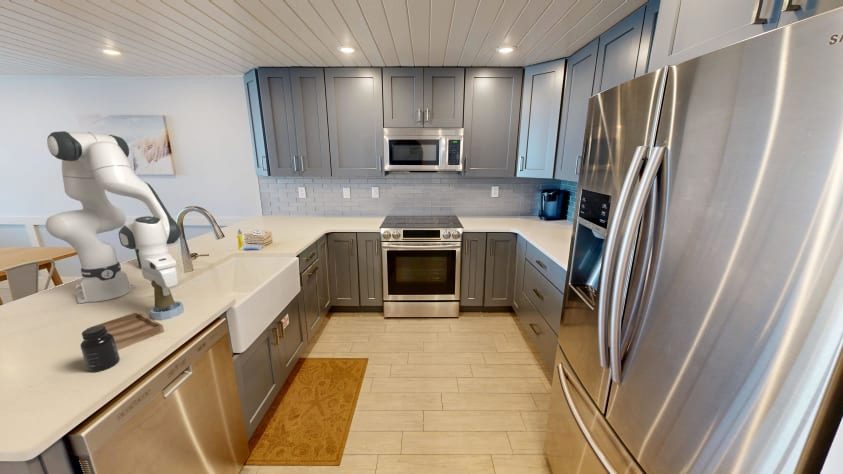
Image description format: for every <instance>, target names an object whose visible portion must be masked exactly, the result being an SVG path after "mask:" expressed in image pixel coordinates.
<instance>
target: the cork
mask: <svg viewBox="0 0 843 474" xmlns="http://www.w3.org/2000/svg"><path fill="white" fill-rule="evenodd" d="M150 282H151V281H150ZM150 284H151V286H152V287H153V292H154V296H153V297H154V307H155V308H164V307H168V306H171V305H173V304H174V301H175V300H174V297H173V295H172V292H171V289H169V295H167V296H164V295H162V287H161V286H160V285H158V284H156V282H155V281H154V280H152V282H151V283H150Z"/></svg>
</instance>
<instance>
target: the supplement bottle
mask: <svg viewBox="0 0 843 474" xmlns="http://www.w3.org/2000/svg"><path fill="white" fill-rule="evenodd" d="M94 326H95V325H94ZM91 327H92V326H91ZM88 328H89V327H88ZM81 337H82V339H83V340H82V342H81V343H80V345H79V347H80V350H81V353H82V356H83V359H84V362H85V366H86V368H87V371H88V372H92V373H98V372H99V373H100V372H103V371H106V370H108V369H111V368H112V367H114V366H116V365H117V364H118V363H119V362H120V360H121V358H120V354H119V350H117V347H116V343H115V340H114V337H113V335H112V334H110V333H107V330H106V327H105V326H95V327H92V328H89V329H87V328H86V329H85V330H83V331H82V332H81Z"/></svg>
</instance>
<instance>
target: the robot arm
mask: <svg viewBox="0 0 843 474" xmlns="http://www.w3.org/2000/svg"><path fill="white" fill-rule="evenodd" d="M46 145H47V149H48V150H49V153H50V154H51V155H52V156H53V157H55V158H56V159H58V160H60V161H61V173H62V174H61V175H62V180H63V181H62V182H63V187H64V193H65V195H66V196H67V197H69V198H70V199H73V200H76V201H77V202H78V201H79V202H80V203H81V205H82V209H81V208H80V209H76V210H75V209H74V210H67V211H62V212H59V213H56V214H53V215H50V216H49V217H48V218H47V219H46V220H45V228H46V229H45V230H46V231H47V233H49V234H50V236H52V237H54V238H56V239H59V240H61V241H65V243H67V244H69V245H70V246H71V247H72V248H73V249H74V251H75V252H76V254H77V256H78V259H79V263H80V266H81V268H80V274H81V276H82V277H81V279H80V283H78V284H76V285H75V289H76V291H75V297H76V301H77V303H78V304H83V303H84V304H85V303H93V302H94V303H97V302H102V301H108V300H112V299H115V298H119V297H122V296H124V295H127V294H128V293H129V292H131V291H132V290H135V288H136V286H135V285H133V284H131V283H130V280H129V277H128V274H127V272H125V271H123V270H122V267H121V264H120V262H119V261H118V258H117V257H118V256H117V254H116V250H115V247H114V246H113V245H112V244H111V243H109V242H105V241H101V240H100V239H99V237H98V234H102V233H107V232H112V231H115V230H116V229H119V228H120V230H119V231H118V238H119V242H120V245H121V246H122V247H124V248H127V249H129V250H135V249H139V259H140V263H141V268H142V269H141V268H140V269H141V275H142V277H143V279H145V280H146V281H147V280H148V281H149V282H152V280H154V281H155V282H156V284H158V285H160V286H161V287H162V295H164V296H167V295H169V290H170V289H172V288H175V287H177V286H178V283H179V281H178V272H177V268H176V267H177V265H178V263H177V261H176V259H175V258H173V257H172V254H171V252H170V248H169V247H168V245H171V244H175V243H177V241H178V240H179V238H180V237H181V234H182V230H181V228H180V226H179V224H178V223H177V222H176V221H175V220H174V218H173V217H172V216H171V214H170V212H169V211H168V210H167V208H166V206H165V205H164V203H163V202H162V200H161V198H160V197H159V195H158V194H157V192H156V190H155V189H154V188H153V187H152V186H151V185H150V183H148V182H146V181H143V179H141V178H140V177H139V176H138V175H137V174H136V172H135V171H134V169H133V167H132V165H131V162H130V160H129V159H128V157H129V156H130V148H129V145H128V143H127V141H125V139H123V138H122V137H120V136H117V135H113V134H104V133H97V132H83V131H82V132H78V131H75V132H74V131H71V132H70V131H62V130H61V131H54V132H51V133H50V134H49V135H48V136H47V143H46ZM106 192H108V193H111V194H113V195H114V194H115V195H117V196H122V197H128V198H132V199H136V200H138V201H141V202H142V203H143V204H145V205H146V207H147V208H148V210H149V212H150V213H151V215H153V216H151V215H150V216H149V215H145V216H140V217H137V218H135V219H133V223H130V224H127V225H125V224H126V221H127V217H126V215H125V213H124V211H123V210H122V209H120V208H119V207H117V206H116V205H115V206H114V205H113V204H112V203H111V201H110V200H109V198H108V197H107V194H106Z"/></svg>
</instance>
